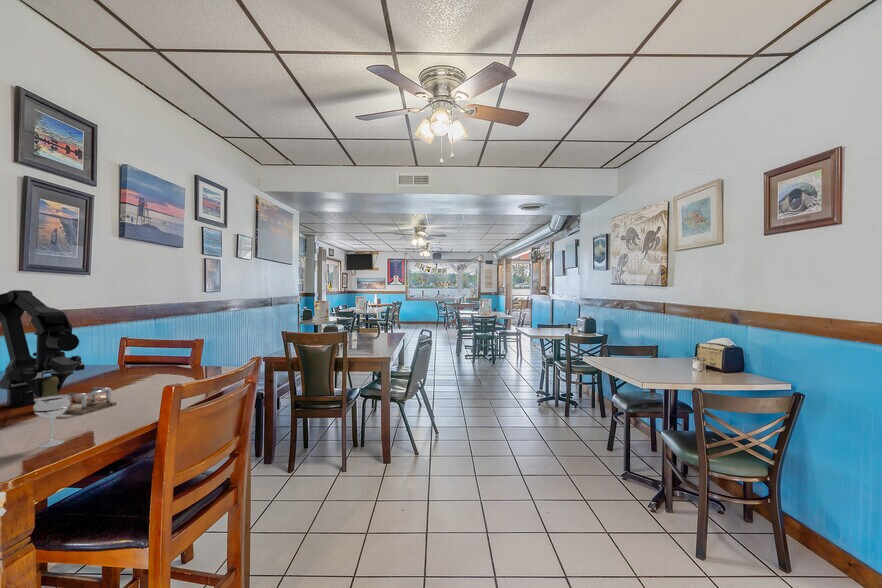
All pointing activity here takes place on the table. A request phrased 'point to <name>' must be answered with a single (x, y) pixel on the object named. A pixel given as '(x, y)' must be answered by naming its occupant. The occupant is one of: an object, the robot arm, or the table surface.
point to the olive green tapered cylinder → (50, 386)
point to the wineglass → (51, 412)
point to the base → (94, 407)
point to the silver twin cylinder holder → (93, 394)
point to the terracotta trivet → (98, 398)
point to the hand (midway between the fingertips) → (47, 396)
